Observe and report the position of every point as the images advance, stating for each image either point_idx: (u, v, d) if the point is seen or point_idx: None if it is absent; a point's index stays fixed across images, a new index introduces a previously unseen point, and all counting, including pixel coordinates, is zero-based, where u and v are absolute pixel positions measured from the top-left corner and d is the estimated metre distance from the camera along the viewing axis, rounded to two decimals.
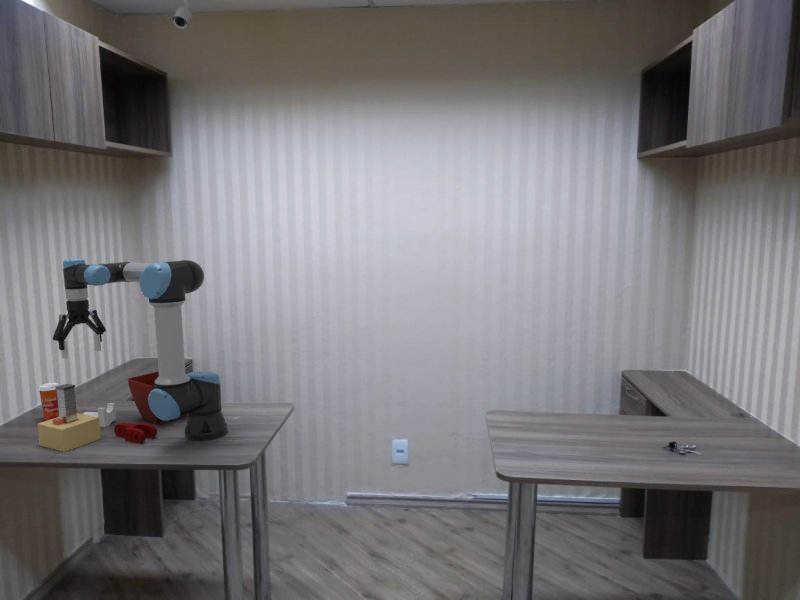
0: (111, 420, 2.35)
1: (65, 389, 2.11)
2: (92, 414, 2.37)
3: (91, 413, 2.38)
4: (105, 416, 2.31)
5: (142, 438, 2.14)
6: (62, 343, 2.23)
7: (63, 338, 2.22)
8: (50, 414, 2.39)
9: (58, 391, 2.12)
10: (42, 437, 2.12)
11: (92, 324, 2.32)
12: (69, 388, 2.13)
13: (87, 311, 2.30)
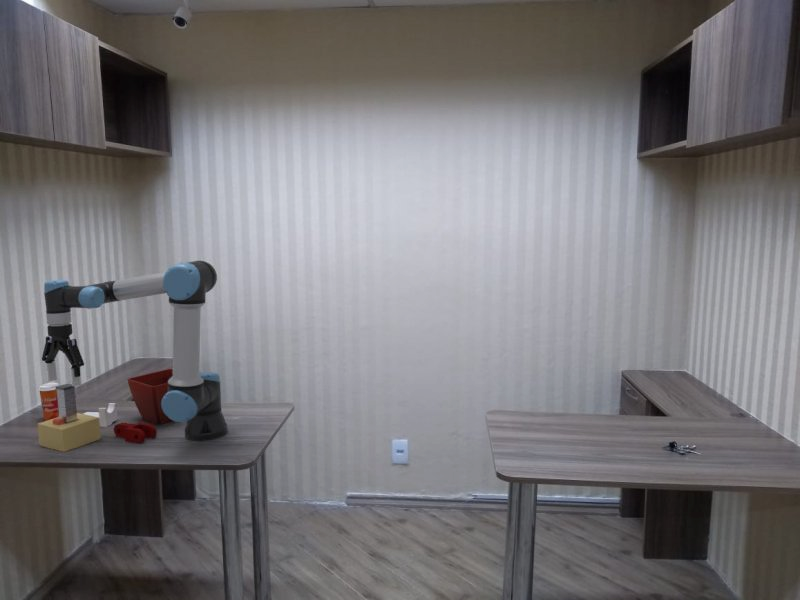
0: (112, 420, 2.35)
1: (65, 389, 2.11)
2: (93, 414, 2.37)
3: (92, 413, 2.38)
4: (106, 416, 2.31)
5: (142, 438, 2.14)
6: None
7: (46, 360, 2.15)
8: (50, 414, 2.39)
9: (58, 391, 2.12)
10: (42, 437, 2.12)
11: (66, 354, 2.09)
12: (69, 388, 2.13)
13: (63, 339, 2.09)
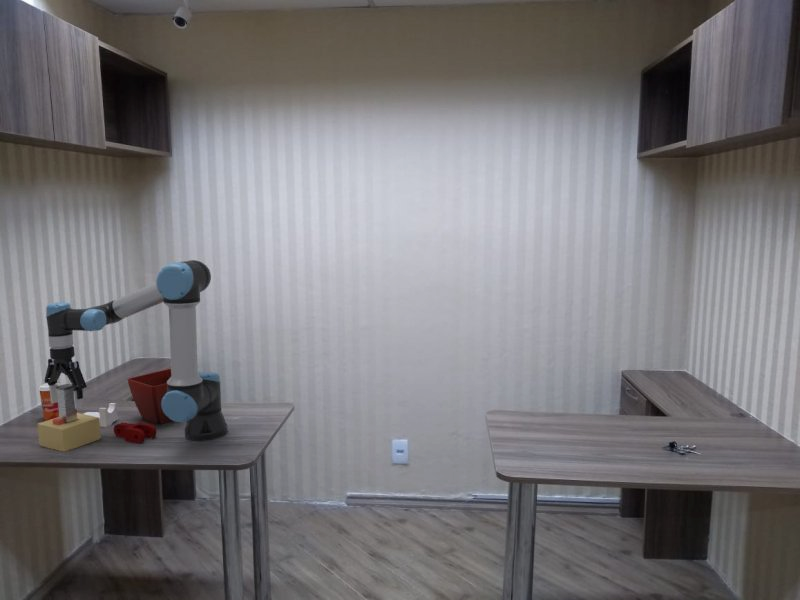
0: (112, 420, 2.35)
1: (65, 389, 2.11)
2: (93, 414, 2.37)
3: (92, 413, 2.38)
4: (106, 416, 2.31)
5: (142, 438, 2.14)
6: None
7: (49, 382, 2.16)
8: (50, 414, 2.39)
9: (58, 391, 2.12)
10: (42, 437, 2.12)
11: (69, 377, 2.10)
12: (69, 388, 2.13)
13: (65, 361, 2.10)
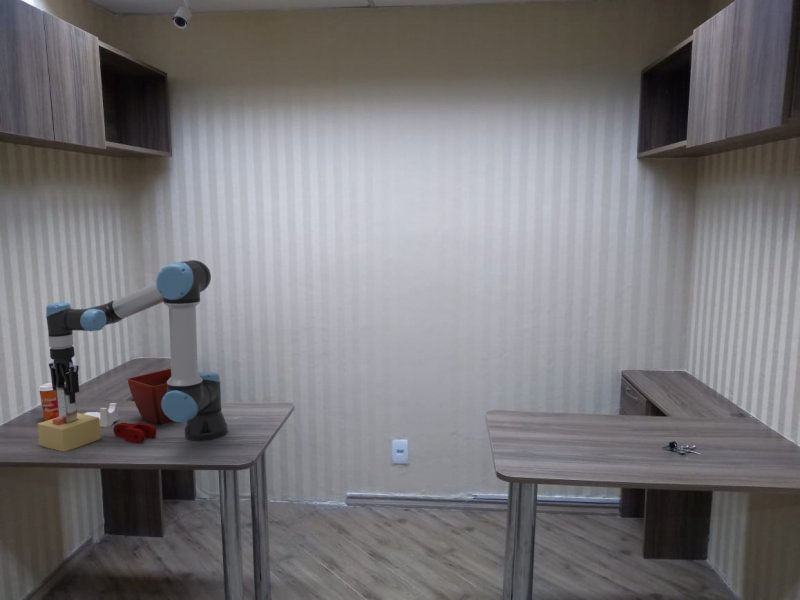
0: (113, 420, 2.35)
1: (65, 389, 2.11)
2: (94, 414, 2.36)
3: (93, 413, 2.38)
4: (107, 417, 2.31)
5: (142, 437, 2.14)
6: None
7: (56, 389, 2.14)
8: (50, 414, 2.39)
9: (58, 391, 2.12)
10: (42, 437, 2.12)
11: (65, 379, 2.11)
12: None
13: (66, 362, 2.10)
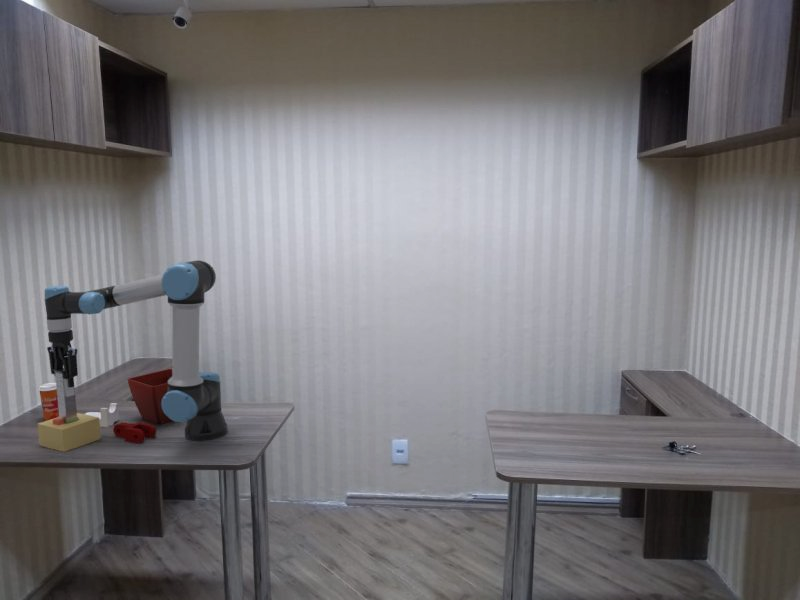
0: (114, 420, 2.35)
1: (63, 373, 2.11)
2: (95, 414, 2.36)
3: (94, 413, 2.38)
4: (107, 417, 2.31)
5: (142, 437, 2.14)
6: None
7: None
8: (50, 414, 2.39)
9: (56, 375, 2.12)
10: (42, 437, 2.12)
11: (64, 363, 2.10)
12: None
13: (64, 345, 2.09)
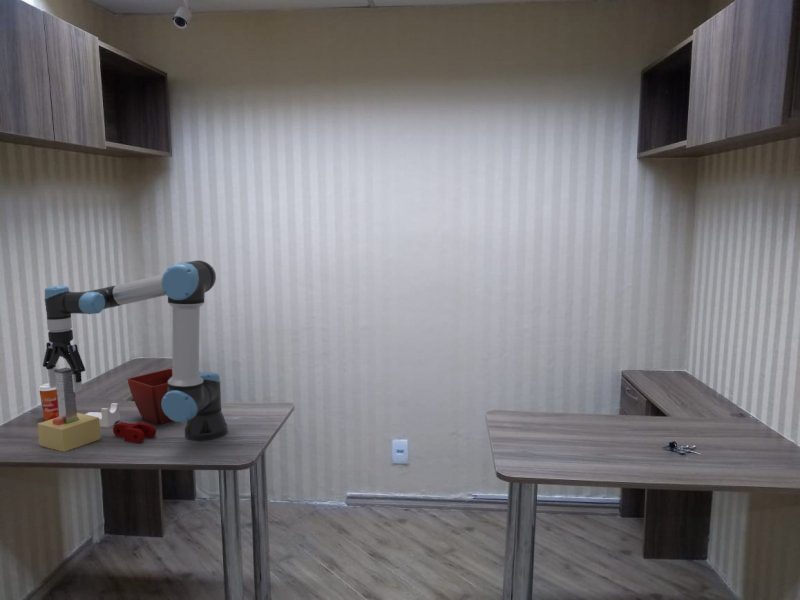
0: (115, 420, 2.35)
1: (63, 372, 2.11)
2: (95, 414, 2.36)
3: (94, 413, 2.38)
4: (108, 417, 2.31)
5: (141, 437, 2.14)
6: None
7: (47, 366, 2.15)
8: (50, 414, 2.39)
9: (56, 375, 2.12)
10: (42, 437, 2.12)
11: (67, 360, 2.09)
12: (68, 372, 2.12)
13: (63, 345, 2.09)
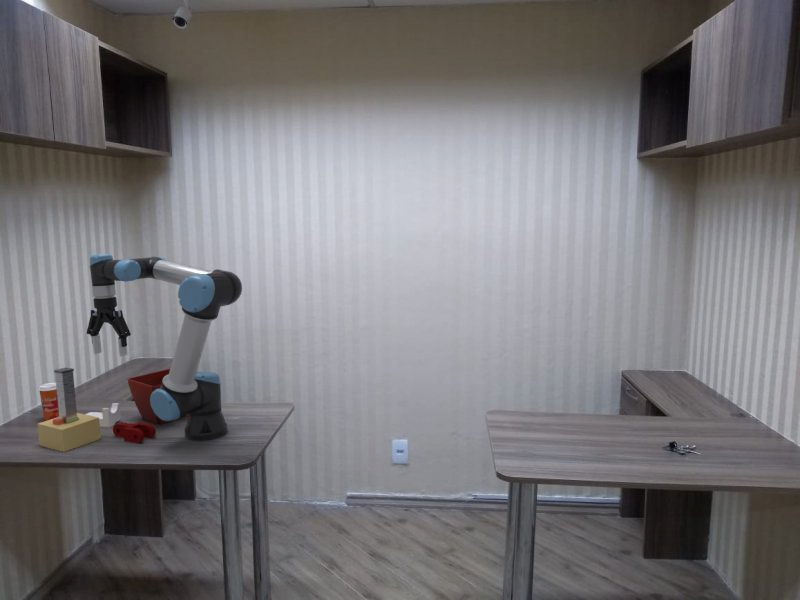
0: (115, 420, 2.35)
1: (63, 372, 2.11)
2: (96, 414, 2.36)
3: (95, 413, 2.38)
4: (109, 417, 2.31)
5: (141, 437, 2.14)
6: None
7: (91, 333, 2.22)
8: (50, 414, 2.39)
9: (56, 375, 2.12)
10: (42, 437, 2.12)
11: (113, 325, 2.16)
12: (68, 372, 2.12)
13: (109, 311, 2.16)
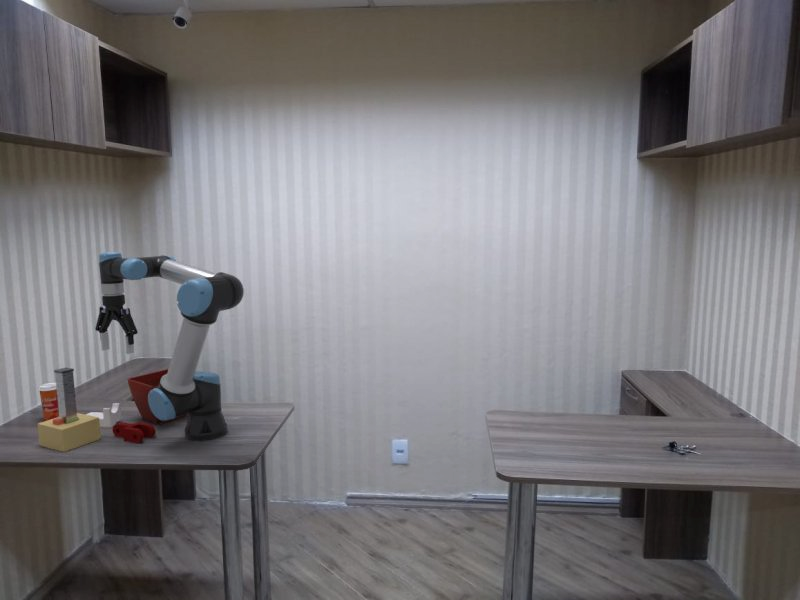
0: (116, 420, 2.35)
1: (63, 372, 2.11)
2: (97, 414, 2.36)
3: (96, 413, 2.37)
4: (110, 417, 2.31)
5: (141, 437, 2.14)
6: None
7: (100, 329, 2.24)
8: (50, 414, 2.39)
9: (56, 375, 2.12)
10: (42, 437, 2.12)
11: (120, 323, 2.18)
12: (68, 372, 2.12)
13: (117, 308, 2.18)
